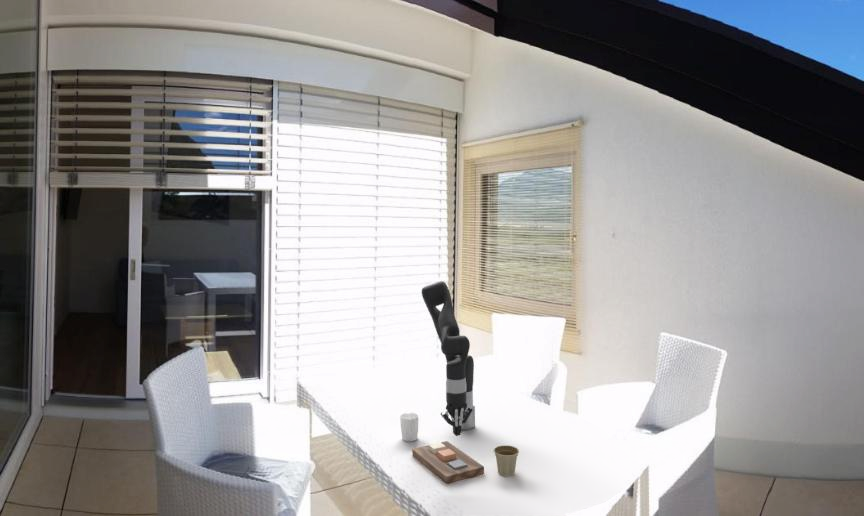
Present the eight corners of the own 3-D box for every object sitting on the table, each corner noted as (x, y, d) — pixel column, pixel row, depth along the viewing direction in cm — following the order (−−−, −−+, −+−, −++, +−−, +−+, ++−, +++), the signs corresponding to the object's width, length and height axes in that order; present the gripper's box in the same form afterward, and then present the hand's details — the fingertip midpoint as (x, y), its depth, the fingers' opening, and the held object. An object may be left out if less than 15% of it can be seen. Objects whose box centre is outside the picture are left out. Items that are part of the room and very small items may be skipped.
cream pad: (439, 448, 227) (439, 441, 227) (445, 453, 223) (445, 446, 223) (428, 451, 225) (428, 444, 225) (434, 456, 220) (434, 448, 220)
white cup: (402, 443, 239) (402, 420, 238) (399, 436, 247) (398, 414, 246) (420, 440, 241) (420, 418, 241) (416, 434, 249) (416, 412, 248)
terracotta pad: (449, 456, 220) (449, 448, 220) (455, 461, 216) (455, 453, 216) (437, 458, 218) (437, 451, 218) (444, 464, 213) (444, 456, 213)
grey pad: (459, 467, 213) (459, 459, 213) (466, 472, 209) (466, 464, 209) (447, 470, 211) (447, 462, 211) (454, 475, 206) (454, 467, 206)
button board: (447, 447, 233) (447, 440, 233) (484, 474, 208) (484, 466, 208) (412, 456, 226) (412, 448, 225) (446, 484, 201) (446, 476, 201)
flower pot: (516, 466, 214) (516, 444, 214) (521, 478, 205) (521, 455, 204) (492, 467, 214) (491, 445, 213) (495, 479, 205) (495, 456, 204)
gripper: (466, 384, 214) (467, 428, 215) (435, 389, 208) (436, 435, 209) (476, 389, 207) (477, 434, 209) (445, 395, 201) (446, 442, 203)
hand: (457, 435), depth 209 cm, fingers closed
